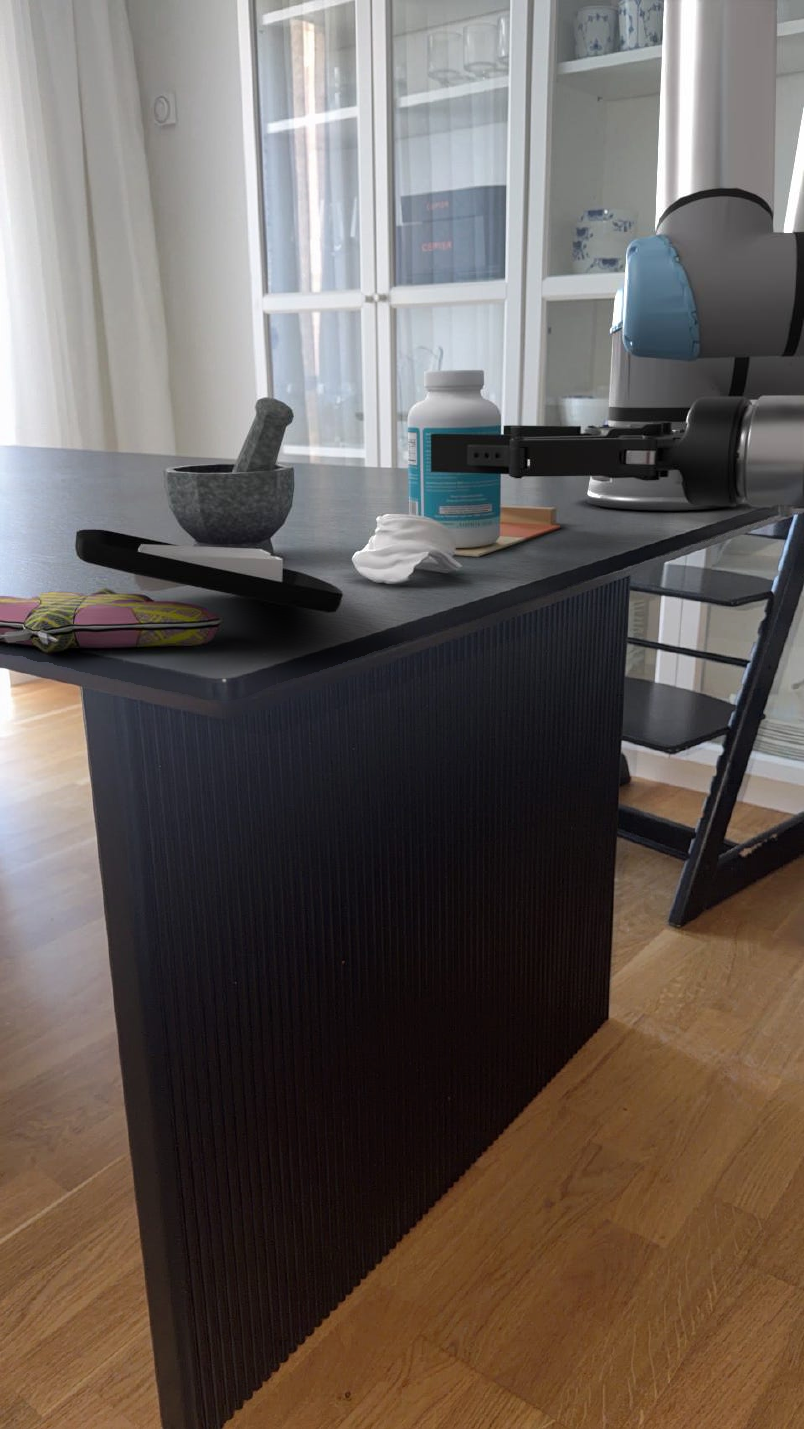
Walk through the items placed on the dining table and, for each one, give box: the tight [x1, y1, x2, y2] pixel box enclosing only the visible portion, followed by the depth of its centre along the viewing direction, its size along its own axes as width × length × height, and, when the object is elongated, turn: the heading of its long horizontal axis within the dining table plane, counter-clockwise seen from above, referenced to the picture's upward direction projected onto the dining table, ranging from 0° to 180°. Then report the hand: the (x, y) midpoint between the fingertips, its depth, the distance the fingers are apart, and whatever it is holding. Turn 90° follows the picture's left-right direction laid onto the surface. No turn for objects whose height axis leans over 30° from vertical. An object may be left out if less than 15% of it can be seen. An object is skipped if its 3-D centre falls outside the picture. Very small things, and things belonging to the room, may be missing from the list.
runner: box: [453, 522, 562, 558], centre depth 91 cm, size 18×8×1 cm, turn 152°
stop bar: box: [500, 504, 558, 525], centre depth 99 cm, size 1×6×2 cm, turn 61°
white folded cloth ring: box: [351, 513, 463, 585], centre depth 73 cm, size 8×7×5 cm
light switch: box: [74, 528, 344, 613], centre depth 59 cm, size 20×3×14 cm
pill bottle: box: [407, 369, 502, 548], centre depth 85 cm, size 8×7×14 cm
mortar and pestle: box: [162, 396, 295, 556], centre depth 80 cm, size 11×9×12 cm
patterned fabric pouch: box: [0, 588, 222, 654], centre depth 56 cm, size 17×2×10 cm
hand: (470, 447), depth 84 cm, fingers open, 13 cm apart
